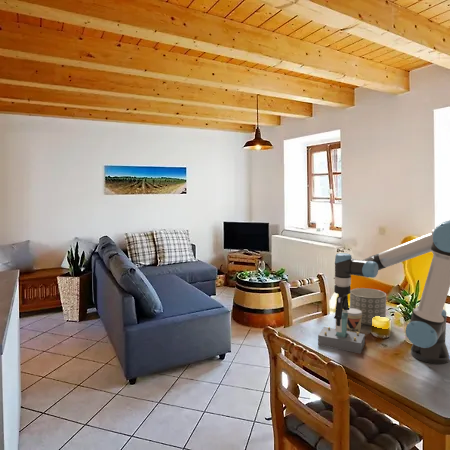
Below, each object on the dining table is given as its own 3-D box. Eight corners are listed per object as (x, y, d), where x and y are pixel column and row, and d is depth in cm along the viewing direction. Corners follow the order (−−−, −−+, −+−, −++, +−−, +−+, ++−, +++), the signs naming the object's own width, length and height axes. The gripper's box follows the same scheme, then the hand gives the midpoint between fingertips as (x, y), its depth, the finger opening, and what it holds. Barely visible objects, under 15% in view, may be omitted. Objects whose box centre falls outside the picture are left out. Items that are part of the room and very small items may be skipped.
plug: (347, 343, 177) (347, 313, 176) (345, 347, 173) (346, 316, 172) (337, 341, 180) (338, 311, 178) (335, 345, 175) (335, 314, 174)
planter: (346, 317, 214) (347, 287, 212) (379, 318, 211) (380, 288, 209) (353, 329, 195) (354, 297, 193) (389, 330, 192) (391, 298, 191)
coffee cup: (342, 334, 188) (343, 312, 187) (343, 328, 197) (344, 307, 196) (361, 337, 185) (362, 314, 184) (361, 330, 193) (362, 309, 192)
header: (364, 343, 177) (364, 331, 176) (360, 353, 166) (360, 340, 166) (324, 336, 186) (324, 324, 186) (318, 344, 176) (318, 332, 176)
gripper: (340, 278, 186) (339, 317, 188) (328, 290, 165) (327, 334, 167) (355, 280, 182) (354, 320, 184) (345, 292, 161) (344, 337, 163)
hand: (341, 327), depth 176 cm, fingers open, 13 cm apart
